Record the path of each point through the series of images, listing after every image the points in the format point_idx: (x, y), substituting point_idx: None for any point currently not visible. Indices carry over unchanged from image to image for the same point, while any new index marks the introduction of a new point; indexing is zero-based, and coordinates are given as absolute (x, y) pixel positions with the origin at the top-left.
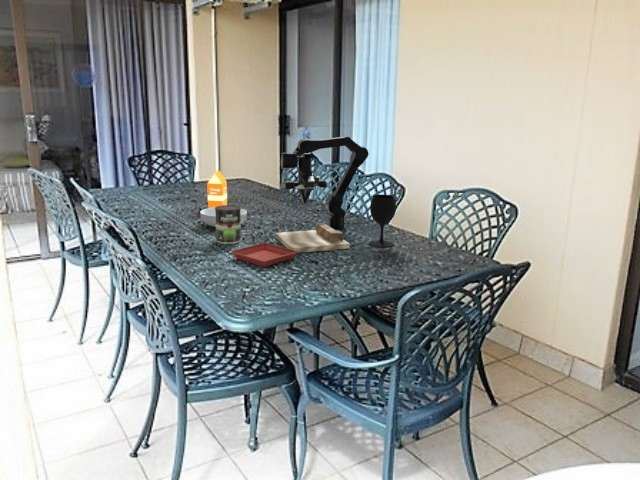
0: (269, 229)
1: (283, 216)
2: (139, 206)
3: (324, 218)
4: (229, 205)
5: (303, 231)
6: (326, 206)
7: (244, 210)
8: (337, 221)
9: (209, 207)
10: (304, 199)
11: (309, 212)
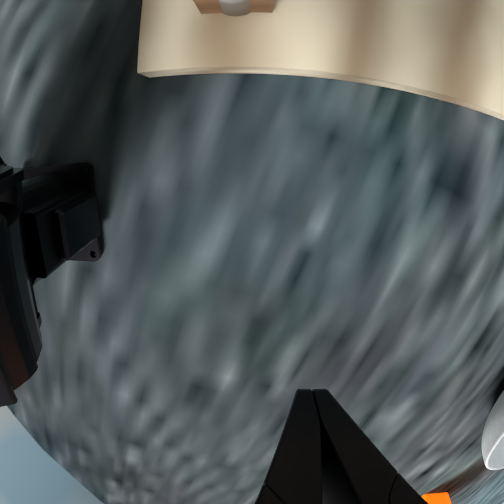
0: (465, 303)
1: None
2: (499, 493)
3: (99, 411)
4: None
5: (370, 62)
6: (23, 312)
7: (498, 442)
8: (27, 183)
9: (448, 501)
10: (338, 435)
11: (152, 480)
